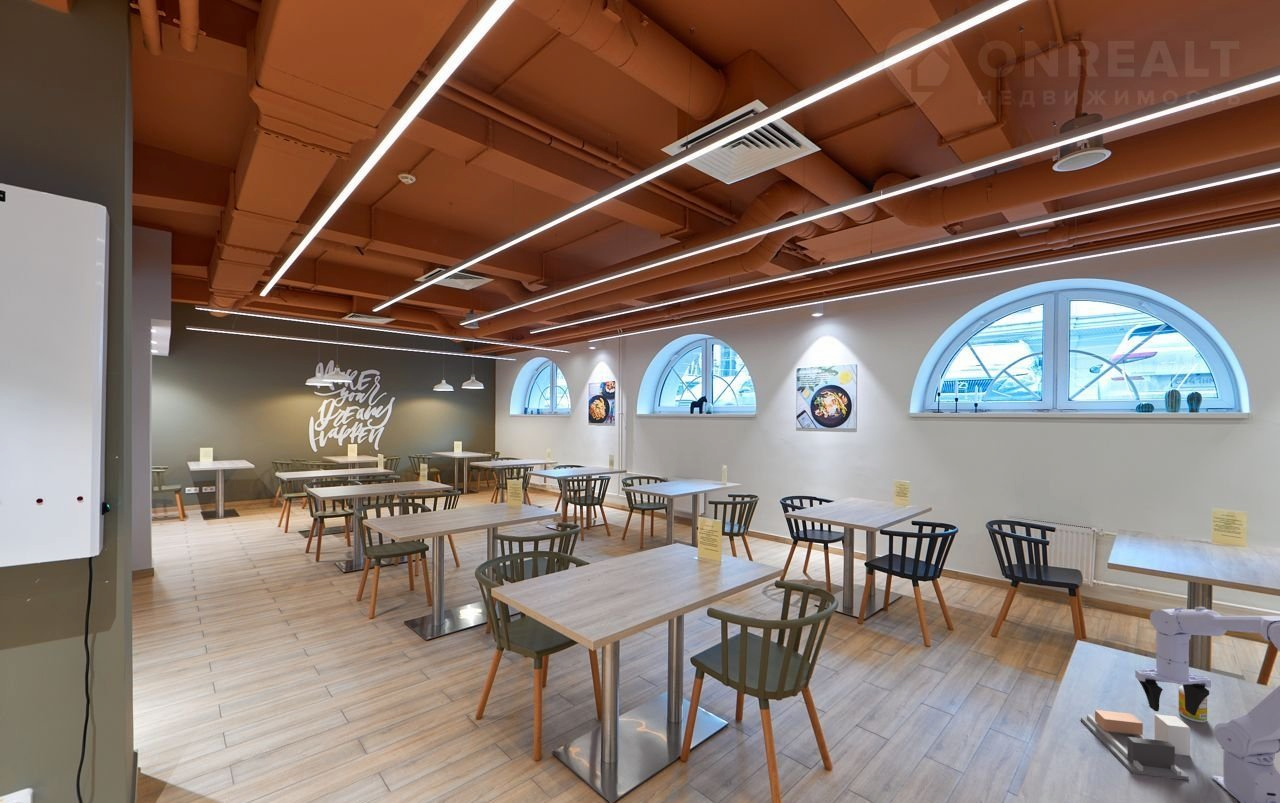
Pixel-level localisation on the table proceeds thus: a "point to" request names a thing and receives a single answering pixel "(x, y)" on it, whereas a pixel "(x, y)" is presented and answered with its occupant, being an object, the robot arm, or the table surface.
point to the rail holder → (1139, 752)
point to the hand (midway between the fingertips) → (1172, 711)
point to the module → (1173, 733)
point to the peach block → (1119, 722)
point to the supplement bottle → (1201, 712)
